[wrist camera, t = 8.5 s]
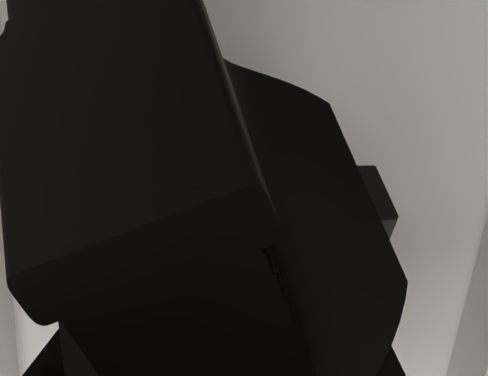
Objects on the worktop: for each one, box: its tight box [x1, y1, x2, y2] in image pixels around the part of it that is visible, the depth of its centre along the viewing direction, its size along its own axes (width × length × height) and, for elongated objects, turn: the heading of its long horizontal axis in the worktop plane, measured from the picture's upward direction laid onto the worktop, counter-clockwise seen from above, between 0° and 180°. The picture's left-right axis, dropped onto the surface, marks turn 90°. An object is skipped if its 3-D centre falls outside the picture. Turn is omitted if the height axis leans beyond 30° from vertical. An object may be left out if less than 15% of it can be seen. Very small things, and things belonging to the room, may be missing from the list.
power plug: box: [0, 0, 408, 376], centre depth 9 cm, size 6×8×12 cm
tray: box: [0, 0, 488, 376], centre depth 13 cm, size 26×18×2 cm
